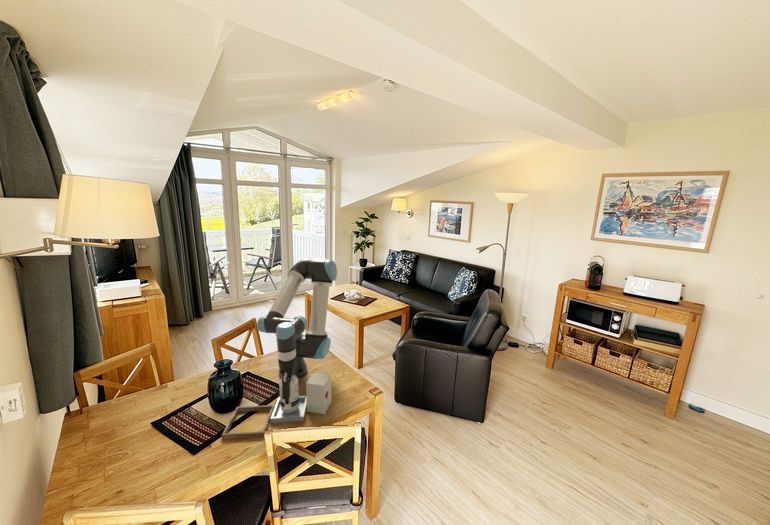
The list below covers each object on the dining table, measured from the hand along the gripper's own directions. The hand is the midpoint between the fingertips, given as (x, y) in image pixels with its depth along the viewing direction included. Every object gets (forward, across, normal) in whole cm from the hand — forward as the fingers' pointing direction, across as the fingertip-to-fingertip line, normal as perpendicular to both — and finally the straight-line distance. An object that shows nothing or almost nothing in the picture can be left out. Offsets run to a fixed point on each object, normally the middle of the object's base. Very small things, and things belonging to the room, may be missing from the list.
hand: (290, 402), depth 138 cm
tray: (+5, 0, 0) cm, 5 cm away
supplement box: (+5, -2, +13) cm, 14 cm away
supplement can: (+3, 0, 0) cm, 3 cm away
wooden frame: (+5, +6, -16) cm, 18 cm away
